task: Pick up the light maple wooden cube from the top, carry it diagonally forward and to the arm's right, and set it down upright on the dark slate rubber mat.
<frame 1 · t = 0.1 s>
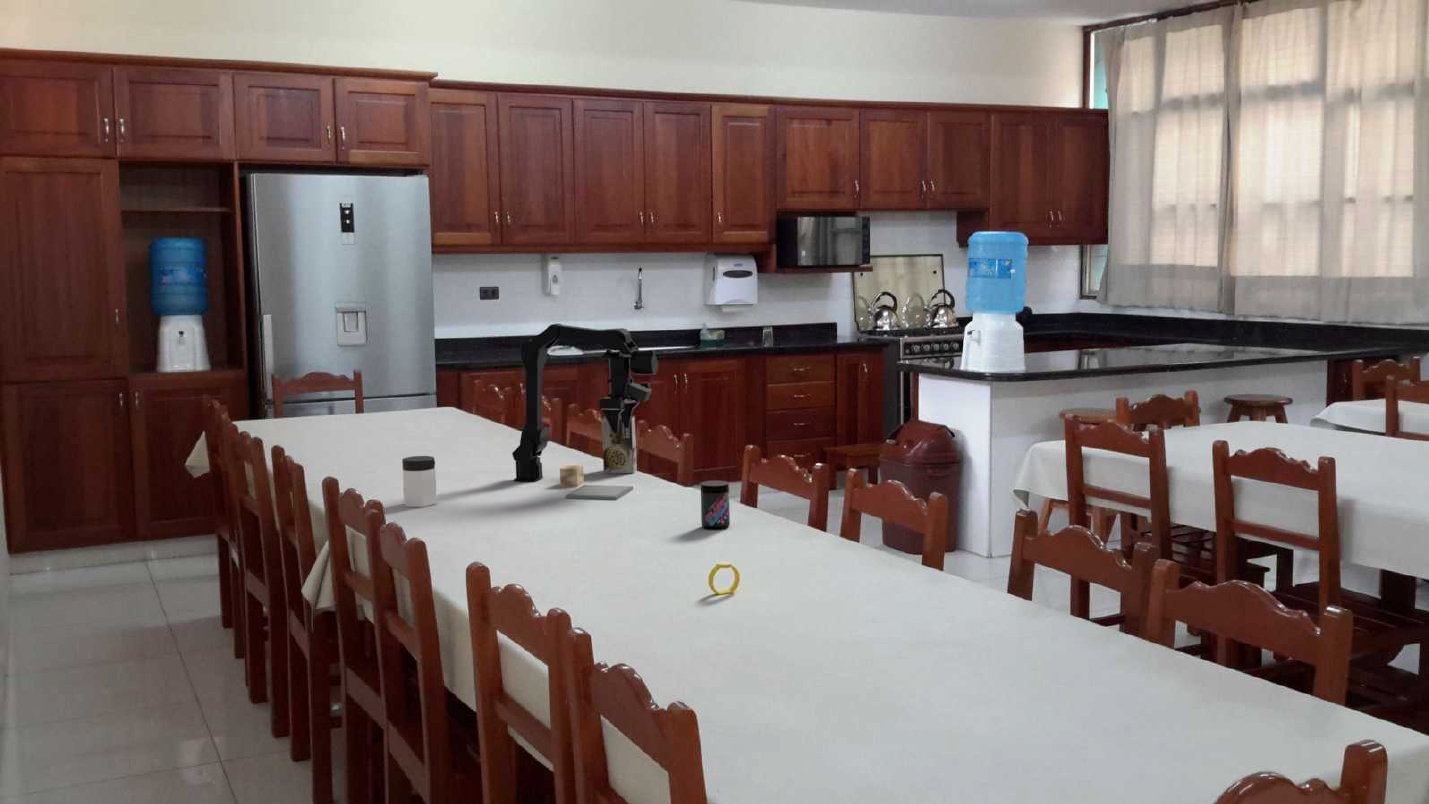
hand: (621, 430, 345), 15 cm above the table, tool pointing down, fingers open, 9 cm apart
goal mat: (600, 493, 332), on the table
supplement container: (715, 528, 291), on the table
coffee box: (620, 472, 364), on the table
jar: (420, 504, 323), on the table
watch: (724, 594, 236), on the table
maple cube: (572, 484, 346), on the table
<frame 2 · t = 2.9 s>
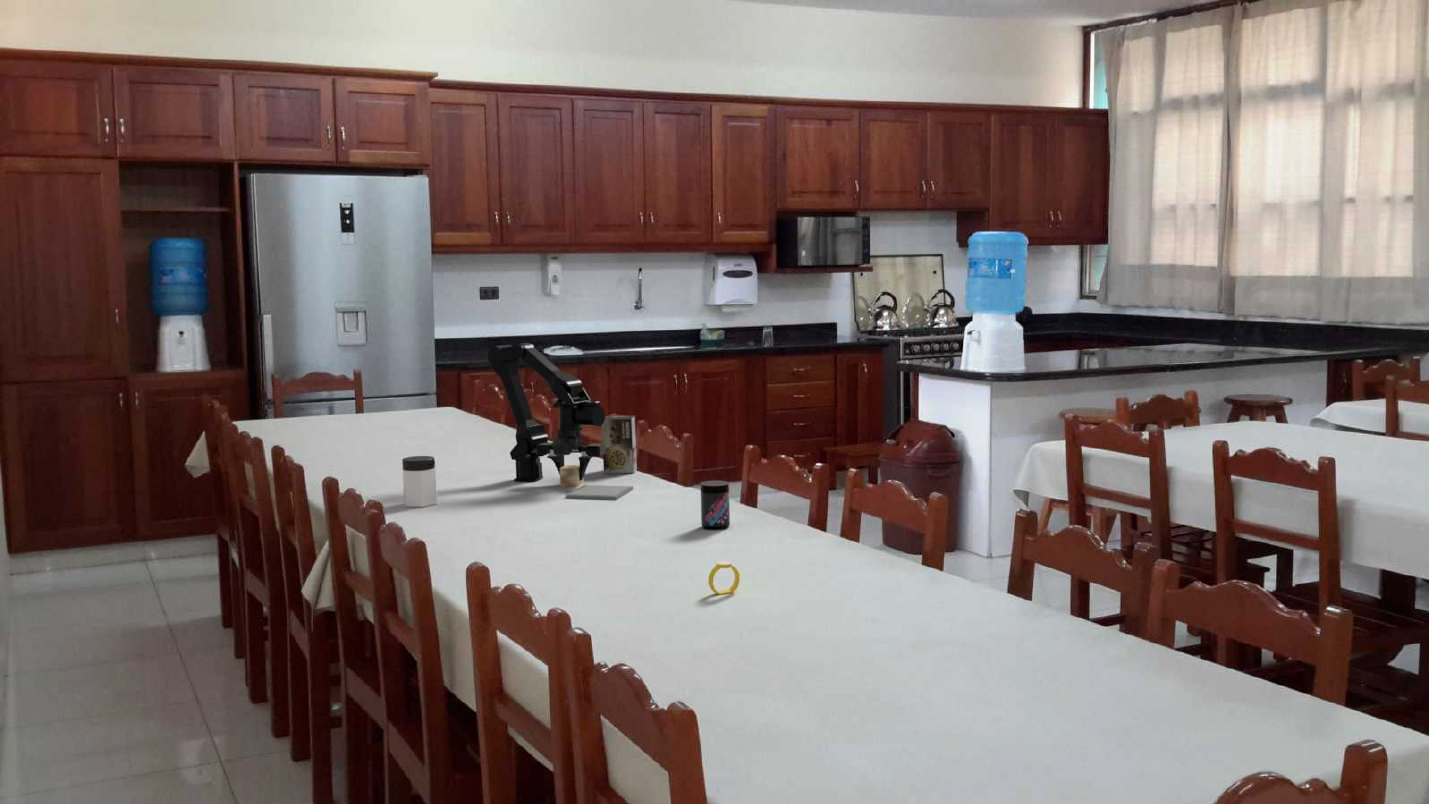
hand: (571, 480, 346), 1 cm above the table, tool pointing down, fingers closed on maple cube, 5 cm apart
maple cube: (572, 484, 346), on the table, touching gripper
everything else where it was.
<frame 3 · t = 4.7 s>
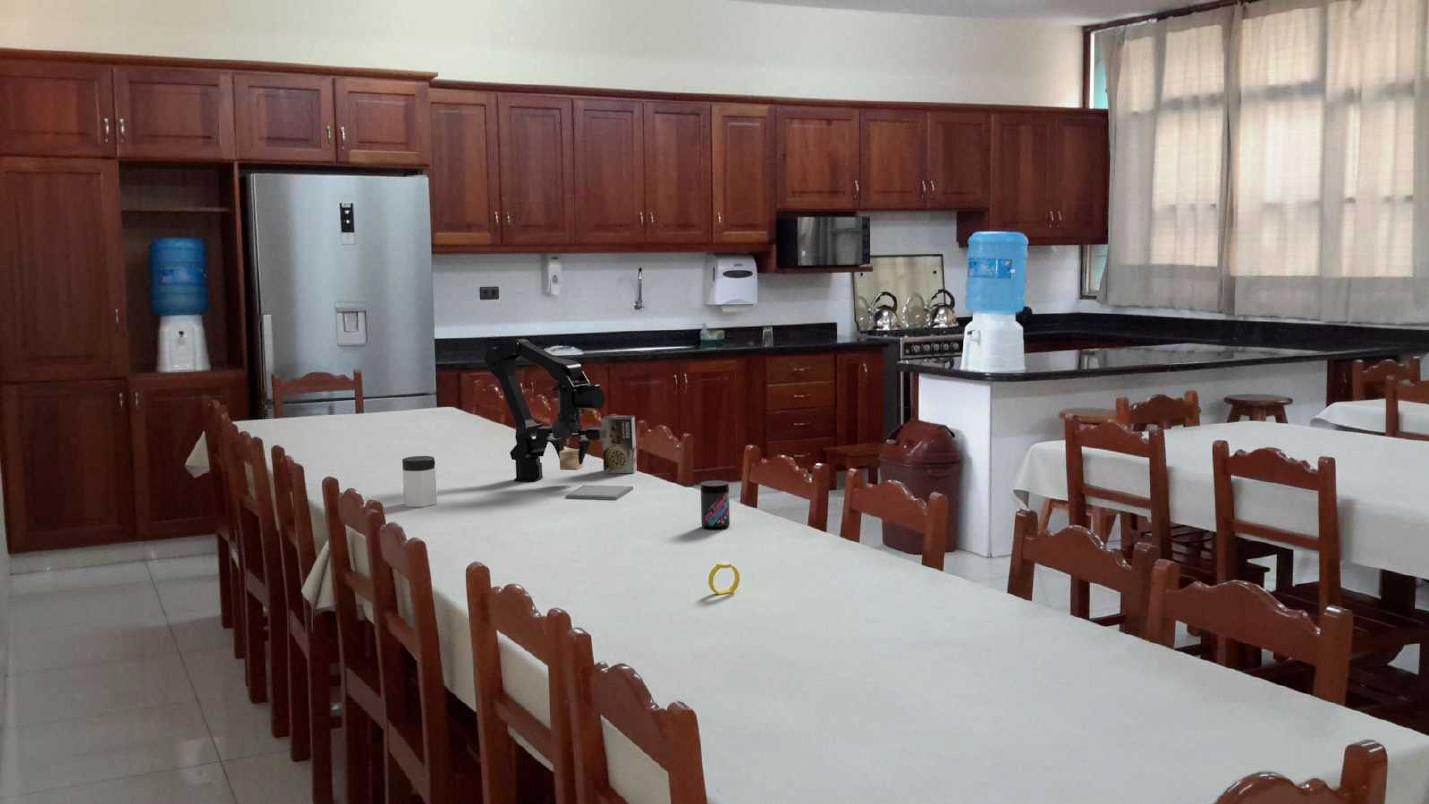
hand: (571, 463, 345), 6 cm above the table, tool pointing down, fingers closed on maple cube, 5 cm apart
maple cube: (571, 468, 345), point 5 cm above the table, touching gripper
everything else where it was.
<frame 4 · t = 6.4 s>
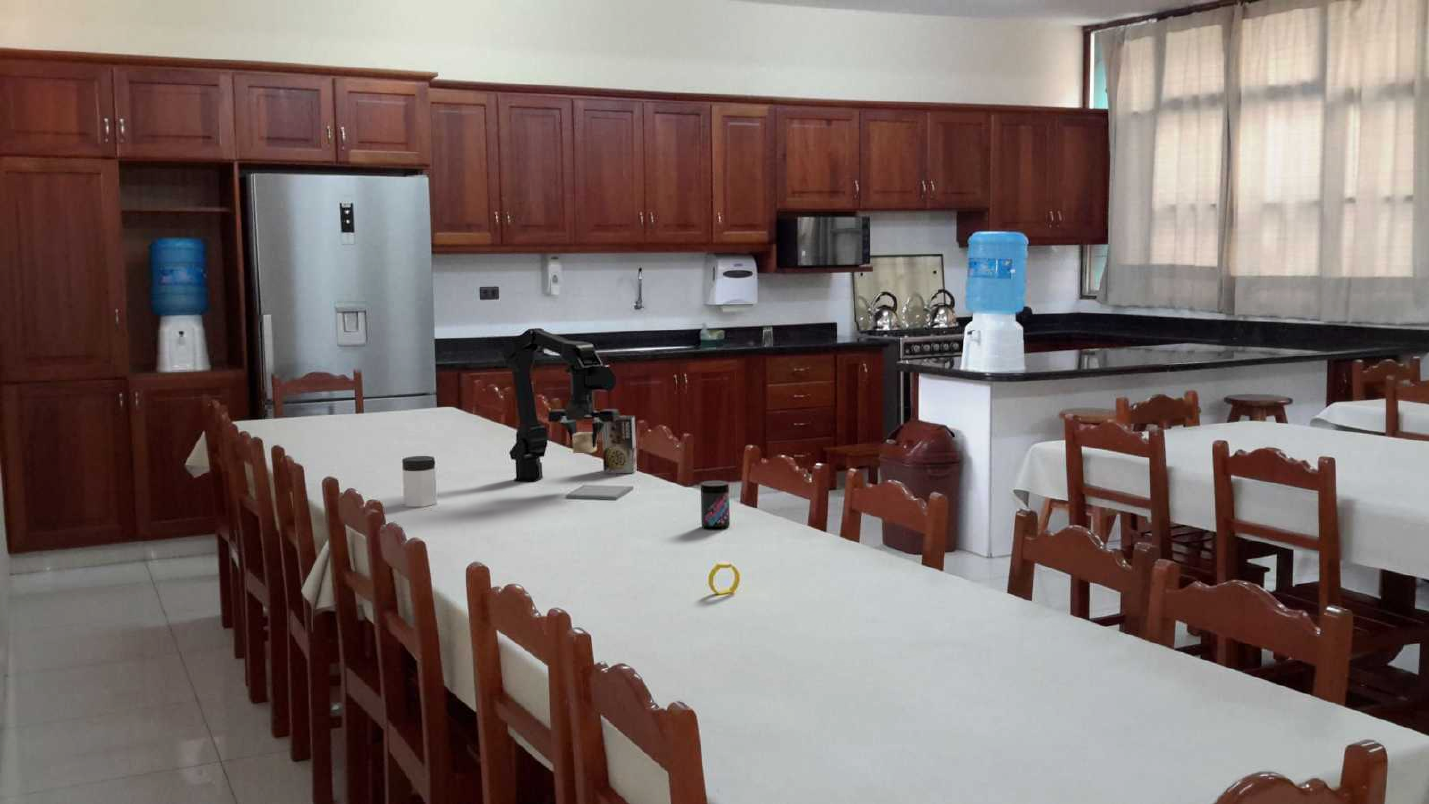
hand: (584, 447, 338), 11 cm above the table, tool pointing down, fingers closed on maple cube, 5 cm apart
maple cube: (585, 451, 338), point 10 cm above the table, touching gripper
everything else where it was.
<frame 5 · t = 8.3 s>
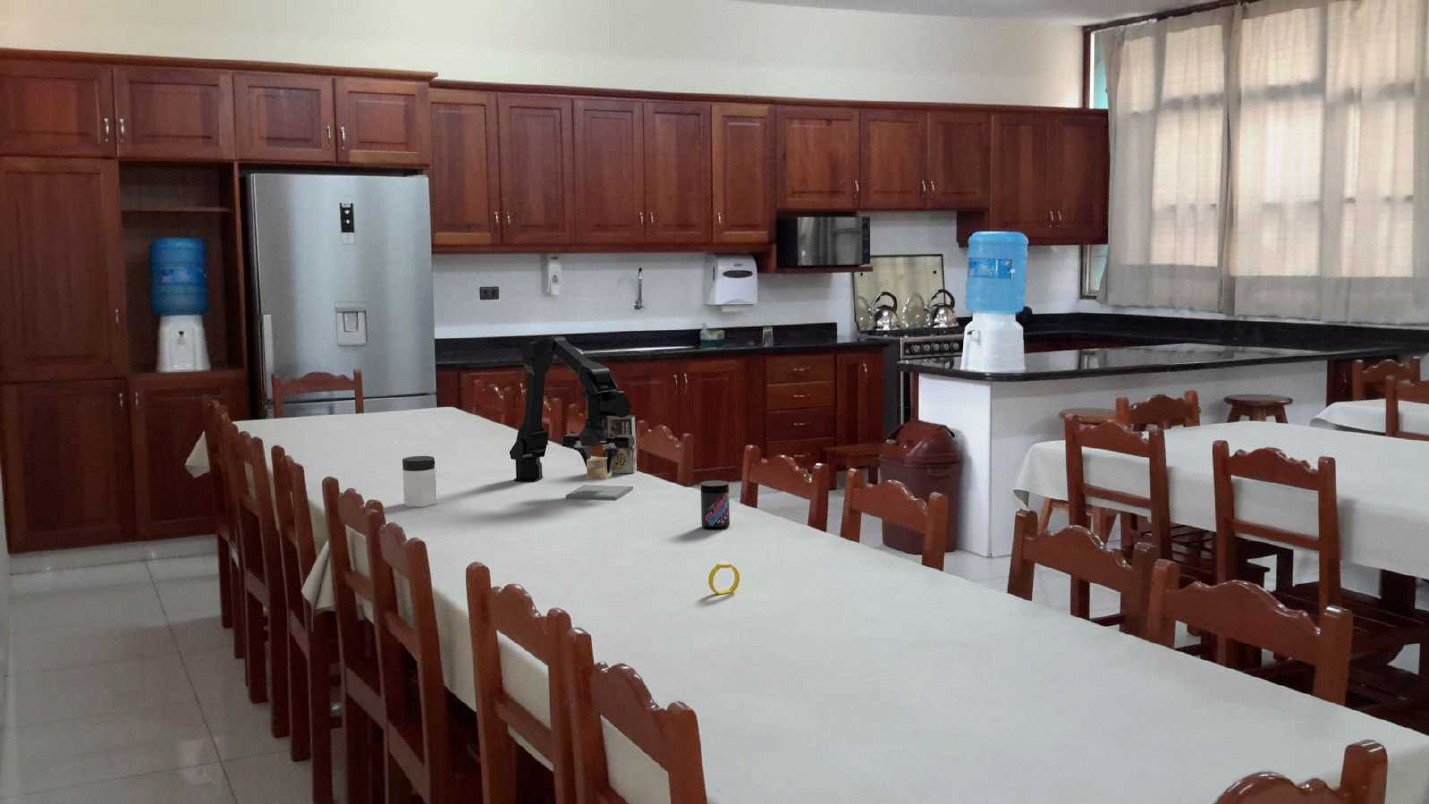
hand: (599, 472, 332), 6 cm above the table, tool pointing down, fingers closed on maple cube, 5 cm apart
maple cube: (599, 477, 332), point 4 cm above the table, touching gripper
everything else where it was.
when the fingers open (3 cm above the table, at t = 9.6 s): maple cube drops 1 cm, resting on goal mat.
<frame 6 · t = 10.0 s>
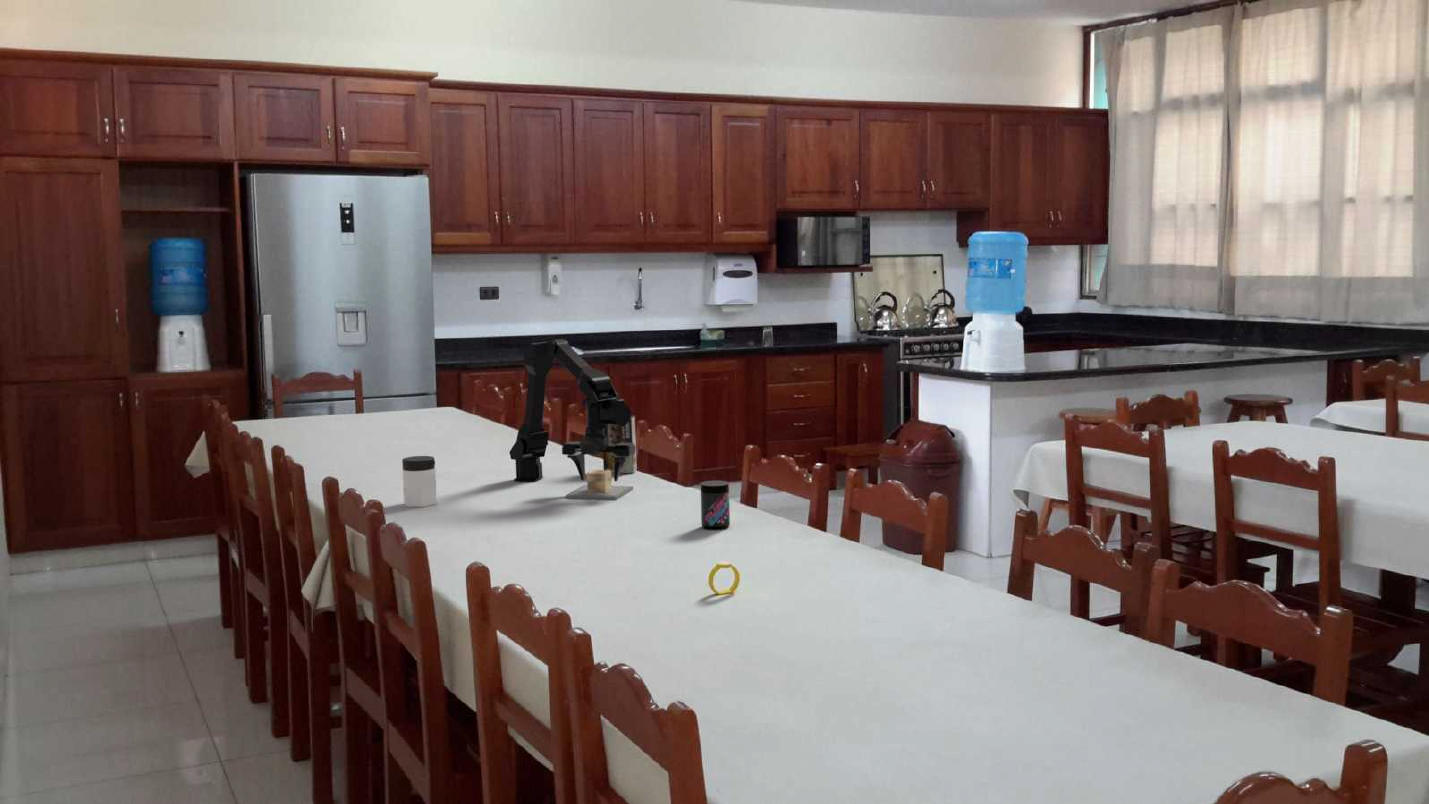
hand: (599, 480, 332), 3 cm above the table, tool pointing down, fingers open, 9 cm apart
maple cube: (599, 490, 332), point 1 cm above the table, touching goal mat
everything else where it was.
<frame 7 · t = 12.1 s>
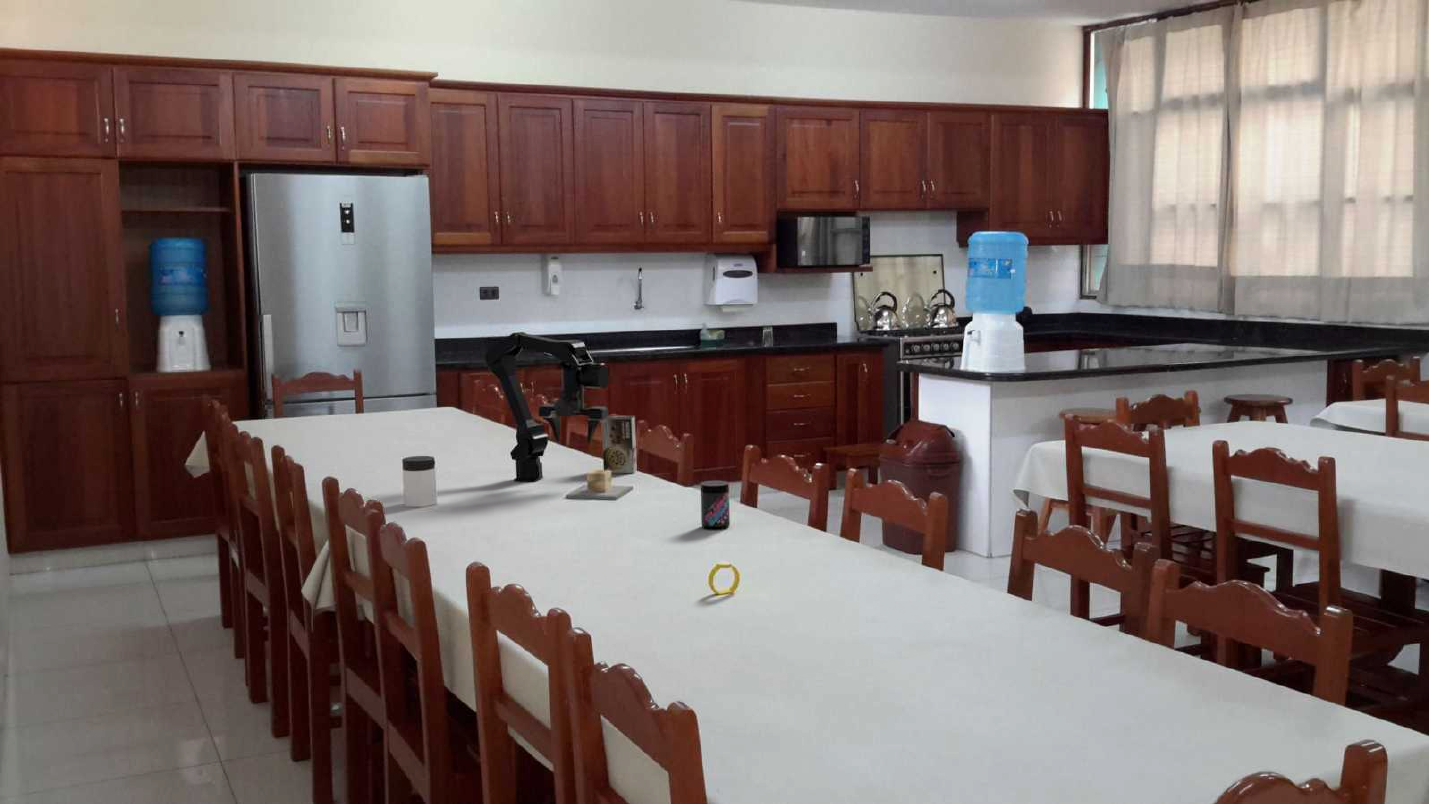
hand: (573, 442, 345), 12 cm above the table, tool pointing down, fingers open, 9 cm apart
nothing on the table moved.
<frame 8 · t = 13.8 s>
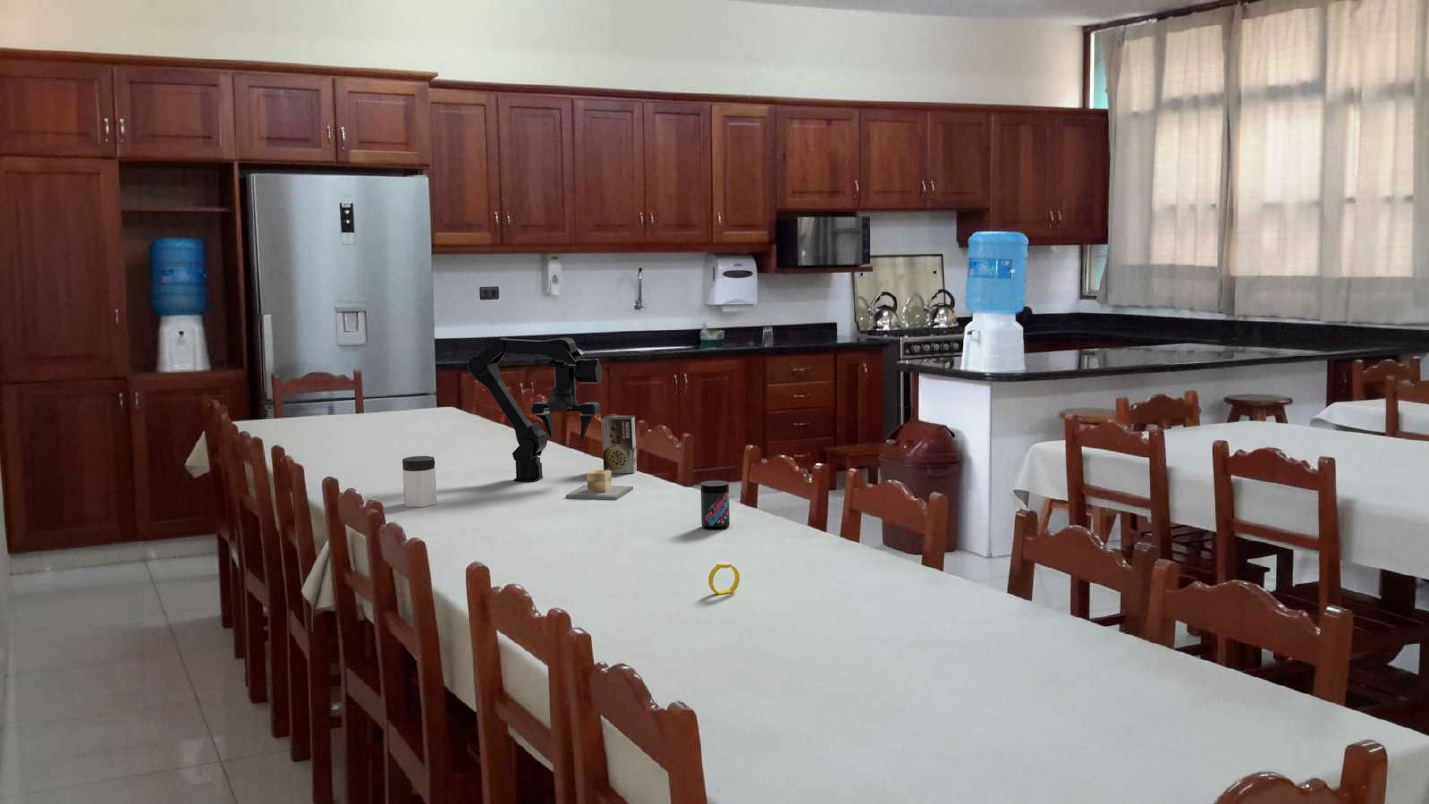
hand: (567, 438, 350), 12 cm above the table, tool pointing down, fingers open, 9 cm apart
nothing on the table moved.
at the end: maple cube inside the target area on the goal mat (0.1 cm from its centre), point 0.9 cm above the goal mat's base; maple cube tilted 0°; the gripper is holding nothing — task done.
